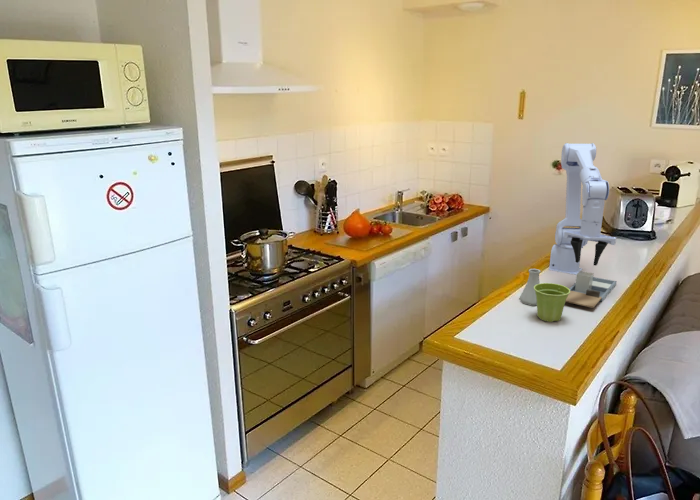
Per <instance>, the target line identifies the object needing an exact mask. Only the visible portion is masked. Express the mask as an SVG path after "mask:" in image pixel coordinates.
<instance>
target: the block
mask: <svg viewBox="0 0 700 500" xmlns="http://www.w3.org/2000/svg"><path fill="white" fill-rule="evenodd" d="M575 276H576V277H575V283H576V285H575V291H578V292H583V293H586V290H587V289H590V290H592V283H593V277H594V272H593V273H592V272H588V271H583V270H581V271H580V272H579V273H578V274H577V275H575Z"/></svg>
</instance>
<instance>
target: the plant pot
mask: <svg viewBox="0 0 700 500" xmlns="http://www.w3.org/2000/svg"><path fill="white" fill-rule="evenodd" d="M534 290H535V294H536V299H537V305H536V314H537V315H536V316H537V318H539V319H540V320H542V321H544V322H549V323H550V322H551V323H552V322H559V321H560V320H561V319H562V316H563V312H564V308H565V306H566V305H565V304H566V302H565V301H566V298H567V297H568V294H570V287H567V286H565V285H563V284H558V283H553V282H551V283H550V282H543V283H541V282H540V284H537V285H535V286H534Z"/></svg>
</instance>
